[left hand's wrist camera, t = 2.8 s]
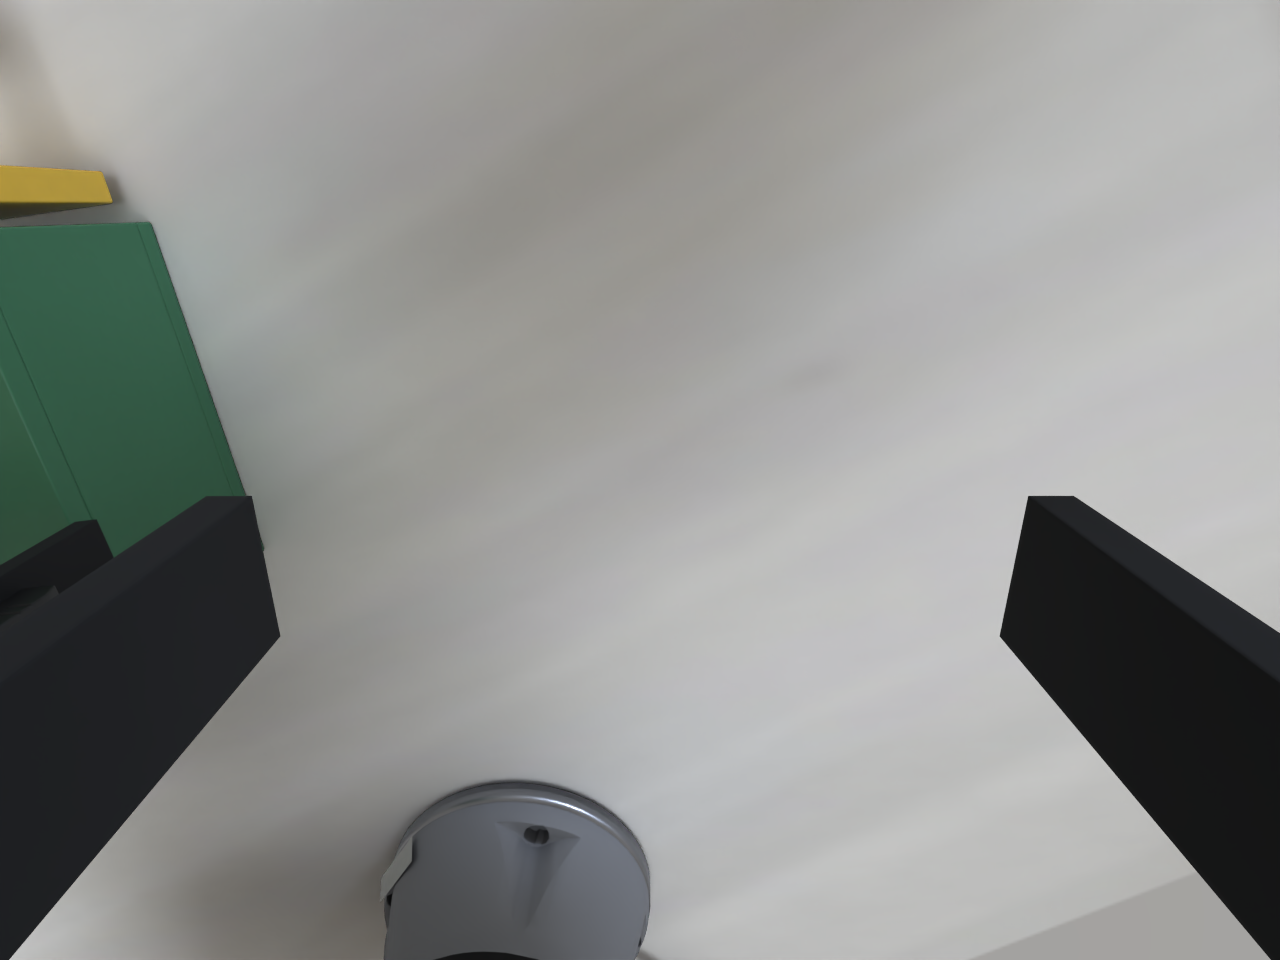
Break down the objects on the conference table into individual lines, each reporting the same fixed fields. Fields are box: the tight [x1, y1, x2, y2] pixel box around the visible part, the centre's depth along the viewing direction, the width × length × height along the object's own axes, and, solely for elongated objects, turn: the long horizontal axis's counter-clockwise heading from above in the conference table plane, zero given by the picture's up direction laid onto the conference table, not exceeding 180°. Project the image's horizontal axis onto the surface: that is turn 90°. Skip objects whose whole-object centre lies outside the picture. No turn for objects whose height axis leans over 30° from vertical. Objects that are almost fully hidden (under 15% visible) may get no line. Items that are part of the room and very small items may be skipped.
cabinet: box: [0, 222, 264, 565], centre depth 29 cm, size 15×11×10 cm
